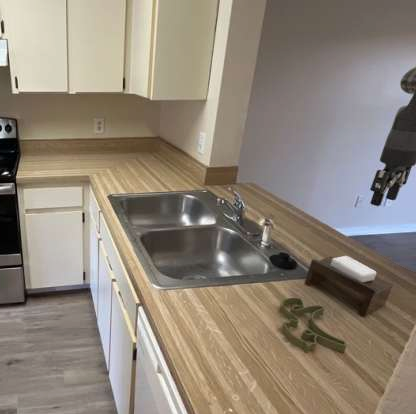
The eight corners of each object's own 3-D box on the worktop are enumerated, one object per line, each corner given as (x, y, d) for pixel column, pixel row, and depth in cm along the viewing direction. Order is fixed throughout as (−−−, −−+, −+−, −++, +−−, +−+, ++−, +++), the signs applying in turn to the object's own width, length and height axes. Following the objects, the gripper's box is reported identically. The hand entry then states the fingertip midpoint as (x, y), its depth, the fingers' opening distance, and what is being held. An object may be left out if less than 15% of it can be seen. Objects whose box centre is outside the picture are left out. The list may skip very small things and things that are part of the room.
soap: (374, 281, 89) (378, 271, 87) (359, 284, 87) (362, 274, 86) (343, 263, 97) (346, 254, 95) (328, 266, 95) (331, 257, 94)
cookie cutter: (349, 359, 74) (352, 352, 73) (291, 350, 76) (293, 344, 75) (318, 306, 90) (320, 300, 89) (270, 300, 92) (271, 294, 91)
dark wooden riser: (324, 275, 103) (332, 251, 100) (384, 305, 90) (395, 279, 87) (304, 284, 99) (311, 259, 96) (364, 317, 86) (375, 290, 82)
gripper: (407, 152, 82) (385, 212, 89) (432, 145, 88) (411, 201, 95) (372, 146, 89) (354, 202, 95) (398, 140, 95) (380, 193, 101)
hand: (382, 202), depth 95 cm, fingers open, 8 cm apart
